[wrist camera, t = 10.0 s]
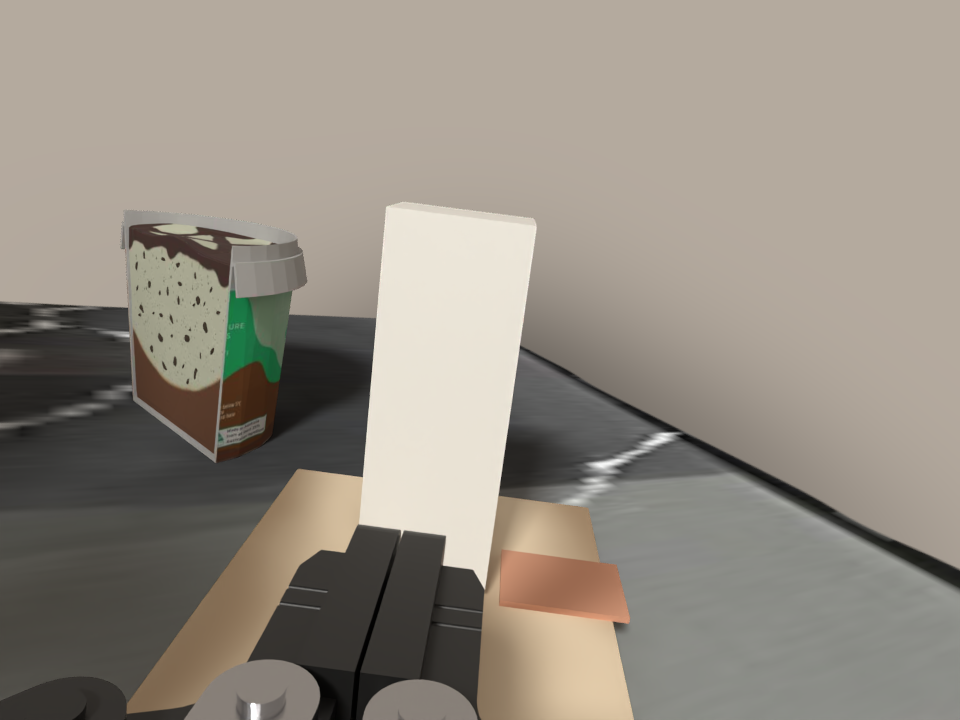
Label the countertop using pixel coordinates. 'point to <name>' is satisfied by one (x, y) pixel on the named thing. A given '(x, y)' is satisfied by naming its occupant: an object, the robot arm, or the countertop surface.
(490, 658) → the fader board
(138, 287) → the food container
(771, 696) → the countertop surface
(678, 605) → the countertop surface
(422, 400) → the fader knob
